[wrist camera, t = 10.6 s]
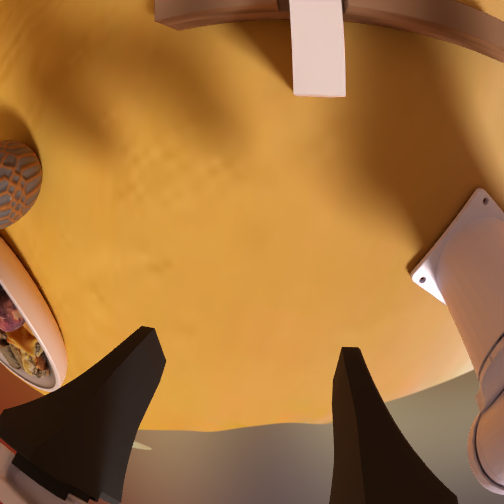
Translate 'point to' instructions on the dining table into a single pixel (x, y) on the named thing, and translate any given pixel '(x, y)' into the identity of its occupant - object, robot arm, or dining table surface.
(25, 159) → the vase
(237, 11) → the walnut rail
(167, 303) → the dining table surface
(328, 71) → the notched white slab
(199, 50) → the dining table surface
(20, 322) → the bowl
